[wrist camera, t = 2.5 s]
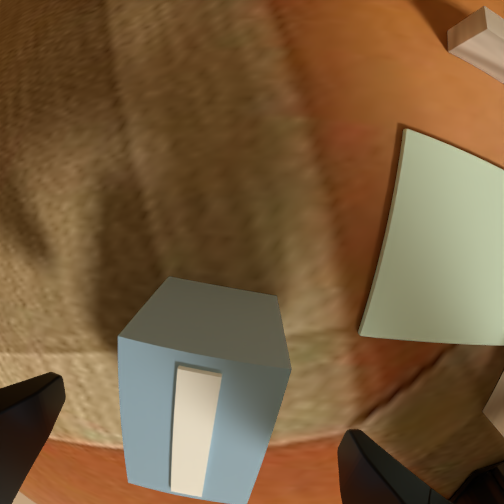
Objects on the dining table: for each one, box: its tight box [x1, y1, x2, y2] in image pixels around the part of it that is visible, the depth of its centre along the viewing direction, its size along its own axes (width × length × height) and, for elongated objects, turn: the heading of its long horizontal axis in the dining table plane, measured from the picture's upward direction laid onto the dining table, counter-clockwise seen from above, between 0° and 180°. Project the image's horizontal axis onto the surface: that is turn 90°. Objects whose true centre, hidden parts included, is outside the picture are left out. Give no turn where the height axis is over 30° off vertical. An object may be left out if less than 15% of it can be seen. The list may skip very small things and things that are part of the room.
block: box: [118, 276, 291, 504], centre depth 10 cm, size 6×4×5 cm, turn 170°
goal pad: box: [358, 129, 504, 346], centre depth 11 cm, size 8×10×1 cm
